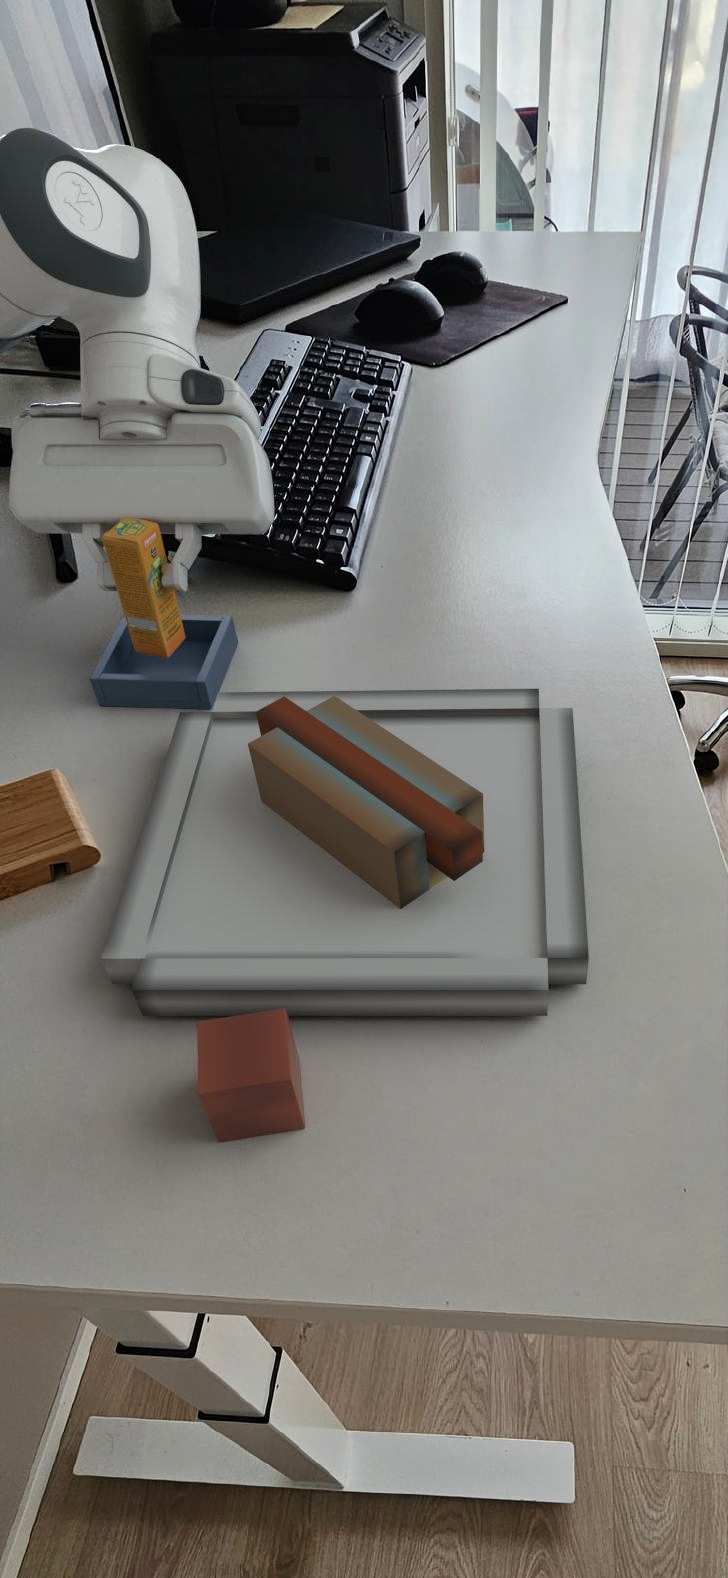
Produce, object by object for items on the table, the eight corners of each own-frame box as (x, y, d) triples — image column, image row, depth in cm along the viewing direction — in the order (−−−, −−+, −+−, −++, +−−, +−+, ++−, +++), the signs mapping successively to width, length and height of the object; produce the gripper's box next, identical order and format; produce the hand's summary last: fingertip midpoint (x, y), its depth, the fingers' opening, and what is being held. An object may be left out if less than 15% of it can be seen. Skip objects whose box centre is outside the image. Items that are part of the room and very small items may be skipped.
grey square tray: (106, 1021, 65) (65, 941, 59) (195, 725, 83) (172, 642, 77) (587, 1022, 63) (595, 940, 58) (569, 721, 82) (574, 636, 76)
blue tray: (98, 705, 85) (88, 678, 83) (132, 640, 91) (123, 613, 89) (211, 709, 85) (204, 681, 83) (238, 642, 91) (232, 615, 88)
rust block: (218, 1142, 59) (197, 1094, 55) (216, 1072, 62) (196, 1021, 58) (305, 1128, 59) (291, 1079, 55) (299, 1059, 62) (285, 1007, 59)
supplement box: (171, 660, 85) (136, 541, 77) (134, 653, 85) (95, 535, 78) (190, 638, 86) (158, 519, 79) (154, 631, 87) (118, 514, 79)
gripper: (-10, 384, 77) (-6, 576, 79) (258, 382, 76) (257, 578, 77) (31, 421, 84) (35, 599, 85) (280, 420, 82) (279, 601, 84)
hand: (143, 589), depth 81 cm, fingers closed on supplement box, 4 cm apart
